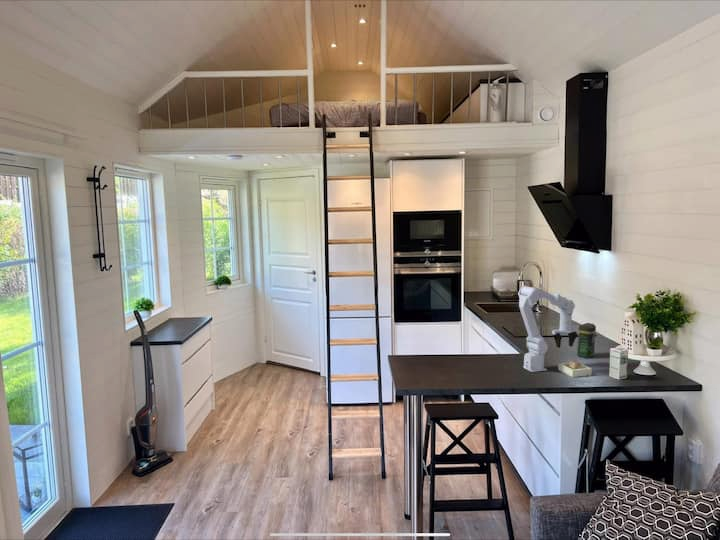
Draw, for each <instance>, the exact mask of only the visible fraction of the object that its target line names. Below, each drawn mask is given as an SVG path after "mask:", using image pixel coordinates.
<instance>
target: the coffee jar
mask: <svg viewBox="0 0 720 540" xmlns="http://www.w3.org/2000/svg"><path fill="white" fill-rule="evenodd" d="M596 328H597V326H596V325H595V324H594V323H590V322H586V323H582V324H580V325H579V326H578V341H577V352H576V353H577V354H576V355H577V357H580V358H583V357H584V358H587V359H590V358H592V357H595V343H596V342H595V340H596V339H595V338H596V332H597V329H596Z"/></svg>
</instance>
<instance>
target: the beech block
mask: <svg viewBox="0 0 720 540" xmlns="http://www.w3.org/2000/svg"><path fill="white" fill-rule="evenodd" d="M568 363H569V368H571V369H573V370H575V369H581V364H582V362H580V361H577V360H570V361H568Z"/></svg>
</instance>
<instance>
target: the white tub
mask: <svg viewBox="0 0 720 540" xmlns="http://www.w3.org/2000/svg"><path fill="white" fill-rule="evenodd" d="M557 366H558V367H557V368H558V372H561V373H563V374H565V375H567V376H569V377H570V378H579V376H580V377H588V376H592V371H593V369H592V367H589V366H588V365H587V366H586V365H585V364H582V363H581V369H575V370H573V369H571V368H569V362H562V363H561V362H560V363H558V365H557ZM587 375H588V376H587Z"/></svg>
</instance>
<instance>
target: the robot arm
mask: <svg viewBox="0 0 720 540" xmlns="http://www.w3.org/2000/svg"><path fill="white" fill-rule="evenodd" d="M517 295H518V297H519V299H518V307H519V310H520V313H521V317H522V320H523V322H524V326H525V329H526V332H527V335H528V336H527V337H526V339H525V340H526V348H527V349H528V352H527V353H526V352H525V353H524V356H523V366H522V368H524V369H525V370H527V371H529V372H531V373H534V372H544V371H548V369H547V368H546V367H545V354H546V353H547V352H548V350H549V349H548V348H549V346H548V343H547V341H546V340H545V338H544V337H543V335H541V334H540V331H539V328H538V324H537V322H536V318H535V315H534V312H533V309H532V308H533V307H534V305H536V303H537V302H538V301H539V300H540V299H544V300H548V301H549V303H550V304H551V305H553V306H555V307H558V309H559V310H560V312H559V328H558V329H557V328H556V329H553V330H552V332H551V334H552V337H553V339H554V341H555V345H556V348H561V345H562V344H561V343H562V338H563V334H567V335H568V346H569V347H573V345H574V342H575V340H576V339H577V337H579V328H572V319H573V318H572V317H573V313H574V310H575V307H576V304H575V303H574V301H573V300H572V299H567V296H561V293H550V292H548V291H545V290H544V289H542V288H538V287H531V286H528V285H522V286H521V287H520V288H519V291H518V293H517ZM561 334H562V335H561Z"/></svg>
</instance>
